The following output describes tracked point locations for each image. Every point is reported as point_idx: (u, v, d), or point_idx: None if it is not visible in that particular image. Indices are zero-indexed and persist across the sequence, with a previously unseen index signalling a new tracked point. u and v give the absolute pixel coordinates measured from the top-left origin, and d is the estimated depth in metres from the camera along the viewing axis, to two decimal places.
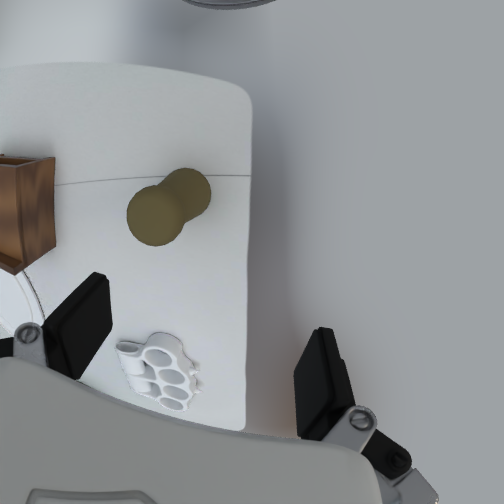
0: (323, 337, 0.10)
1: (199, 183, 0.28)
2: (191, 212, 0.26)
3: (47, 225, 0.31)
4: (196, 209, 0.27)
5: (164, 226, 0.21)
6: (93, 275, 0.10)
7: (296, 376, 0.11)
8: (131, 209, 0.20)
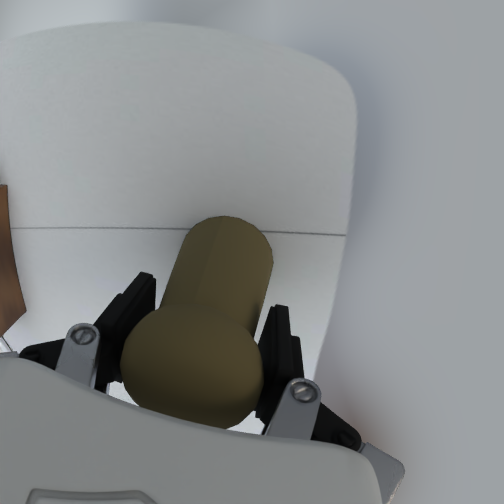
0: (277, 313, 0.11)
1: (261, 255, 0.15)
2: None
3: (8, 287, 0.18)
4: (260, 312, 0.14)
5: (225, 419, 0.08)
6: (141, 275, 0.11)
7: None
8: (133, 380, 0.07)
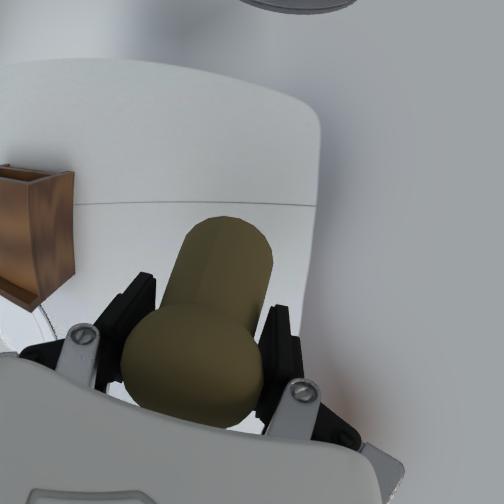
0: (277, 313, 0.11)
1: (261, 255, 0.15)
2: None
3: (65, 251, 0.28)
4: (260, 312, 0.14)
5: (225, 418, 0.08)
6: (141, 275, 0.11)
7: None
8: (133, 380, 0.07)
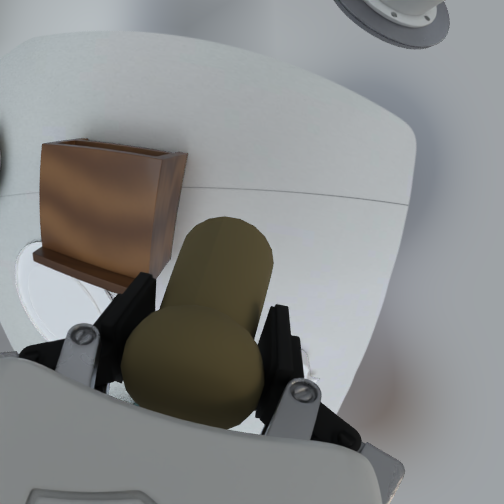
0: (277, 313, 0.11)
1: (261, 256, 0.15)
2: None
3: (170, 235, 0.32)
4: None
5: (225, 419, 0.08)
6: (141, 275, 0.11)
7: None
8: (134, 381, 0.07)
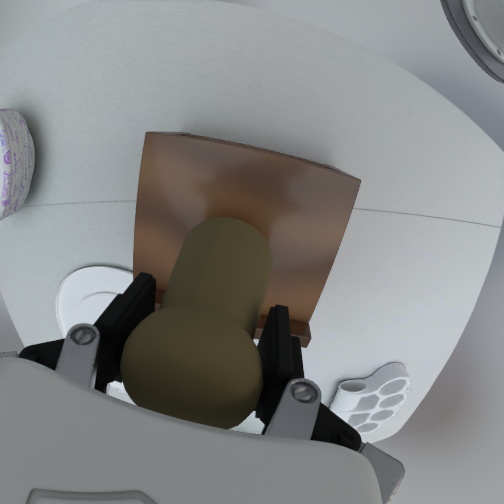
0: (277, 313, 0.11)
1: (261, 256, 0.15)
2: None
3: None
4: (259, 314, 0.14)
5: (224, 420, 0.08)
6: (141, 275, 0.11)
7: None
8: (133, 381, 0.07)
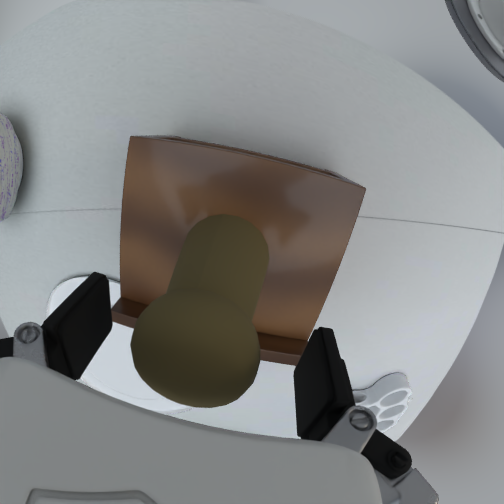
0: (323, 337, 0.10)
1: (258, 249, 0.16)
2: None
3: None
4: (257, 302, 0.15)
5: (225, 392, 0.09)
6: (93, 275, 0.10)
7: (296, 376, 0.11)
8: (143, 356, 0.08)
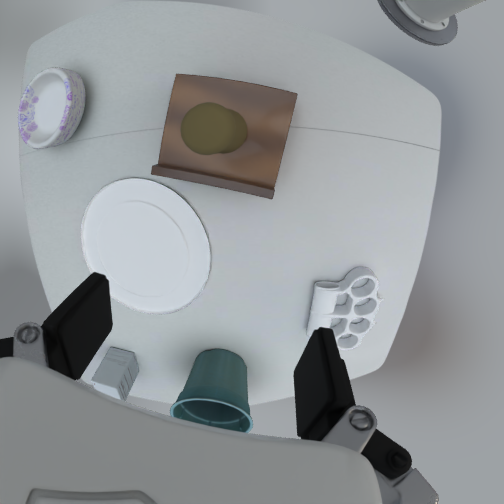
0: (323, 337, 0.10)
1: (239, 118, 0.29)
2: (235, 136, 0.27)
3: None
4: (238, 136, 0.28)
5: (219, 131, 0.22)
6: (93, 275, 0.10)
7: (296, 376, 0.11)
8: (188, 118, 0.22)
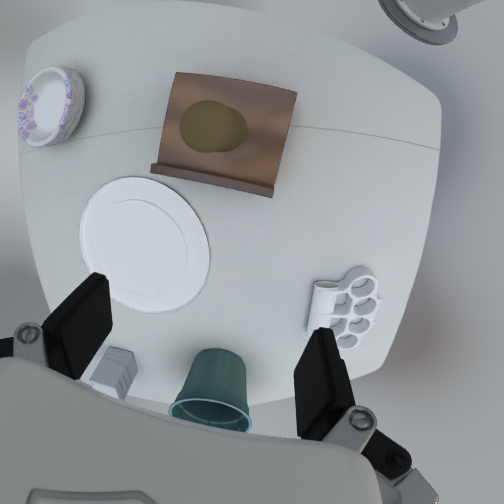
0: (323, 337, 0.10)
1: (239, 116, 0.29)
2: (234, 134, 0.27)
3: None
4: (237, 134, 0.28)
5: (219, 129, 0.22)
6: (93, 275, 0.10)
7: (296, 376, 0.11)
8: (187, 116, 0.21)
